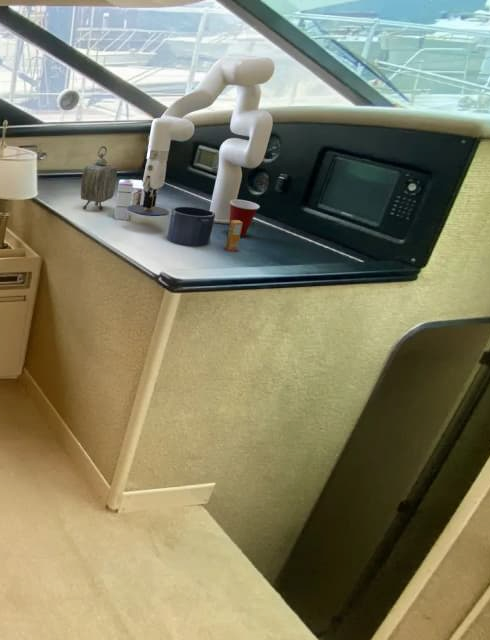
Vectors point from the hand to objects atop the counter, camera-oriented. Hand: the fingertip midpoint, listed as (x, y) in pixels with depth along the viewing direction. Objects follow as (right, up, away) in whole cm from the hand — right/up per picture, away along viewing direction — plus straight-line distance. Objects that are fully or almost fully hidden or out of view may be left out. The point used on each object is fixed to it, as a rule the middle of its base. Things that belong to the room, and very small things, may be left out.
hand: (148, 206), depth 225 cm
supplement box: (+25, -20, -16) cm, 35 cm away
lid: (0, -2, +1) cm, 2 cm away
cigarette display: (+2, +10, +38) cm, 39 cm away
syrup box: (-7, 0, +17) cm, 19 cm away
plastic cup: (+34, -10, +3) cm, 36 cm away
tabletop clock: (-15, +7, +29) cm, 34 cm away
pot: (+12, -15, -8) cm, 21 cm away
